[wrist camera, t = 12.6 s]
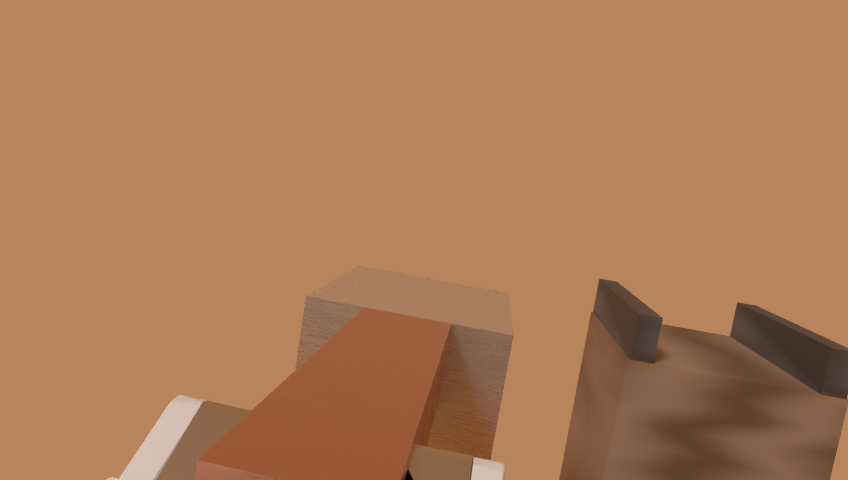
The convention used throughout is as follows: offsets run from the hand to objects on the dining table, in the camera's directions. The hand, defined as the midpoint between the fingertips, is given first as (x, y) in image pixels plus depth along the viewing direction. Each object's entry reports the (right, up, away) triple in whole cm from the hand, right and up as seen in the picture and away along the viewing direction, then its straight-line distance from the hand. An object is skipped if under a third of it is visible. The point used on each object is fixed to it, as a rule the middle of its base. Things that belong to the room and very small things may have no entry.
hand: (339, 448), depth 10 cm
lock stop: (0, -4, +6) cm, 7 cm away
